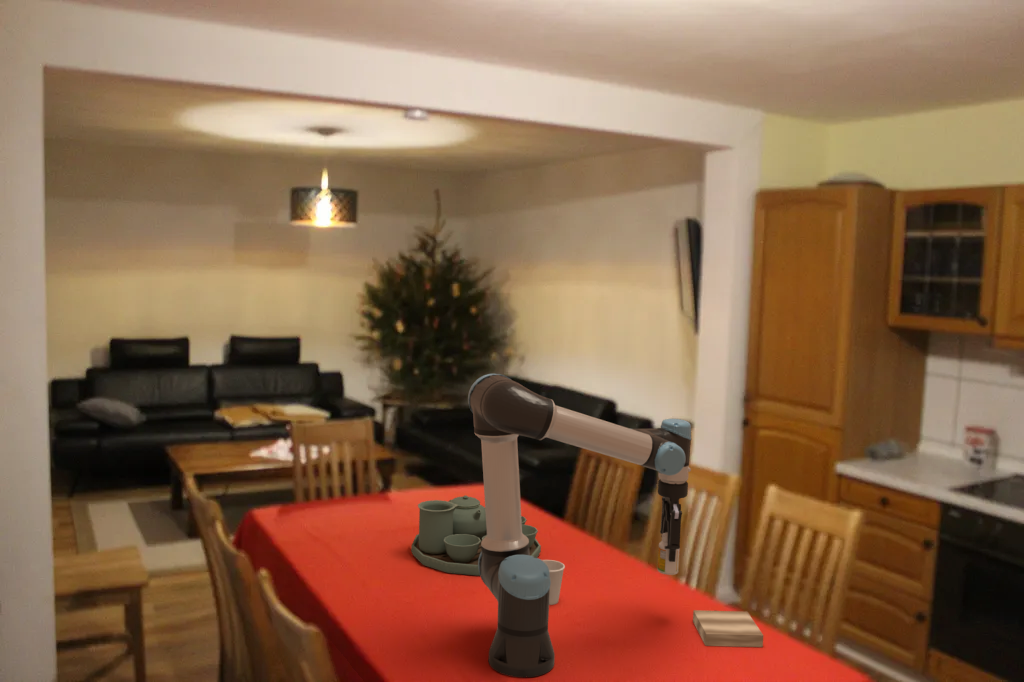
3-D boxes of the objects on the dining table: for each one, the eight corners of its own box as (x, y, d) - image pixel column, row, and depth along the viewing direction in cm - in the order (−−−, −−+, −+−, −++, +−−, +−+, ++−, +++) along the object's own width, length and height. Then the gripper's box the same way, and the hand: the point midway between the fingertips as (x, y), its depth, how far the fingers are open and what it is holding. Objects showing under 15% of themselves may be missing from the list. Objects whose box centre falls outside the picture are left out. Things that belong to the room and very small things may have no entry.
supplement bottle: (663, 566, 228) (666, 530, 227) (682, 571, 224) (684, 534, 224) (653, 571, 224) (655, 534, 223) (672, 576, 220) (674, 539, 219)
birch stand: (762, 647, 212) (763, 635, 212) (705, 645, 212) (706, 633, 211) (746, 622, 226) (747, 611, 225) (692, 621, 226) (693, 610, 225)
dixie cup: (537, 608, 231) (539, 571, 230) (528, 595, 239) (530, 560, 238) (567, 605, 233) (569, 569, 232) (557, 593, 241) (559, 558, 240)
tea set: (487, 588, 244) (489, 531, 242) (385, 555, 268) (386, 502, 266) (564, 552, 276) (567, 501, 274) (467, 525, 300) (469, 478, 298)
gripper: (695, 490, 213) (690, 582, 215) (680, 471, 231) (675, 556, 233) (665, 489, 212) (659, 581, 215) (652, 470, 231) (647, 555, 233)
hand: (668, 568), depth 224 cm, fingers closed on supplement bottle, 5 cm apart
